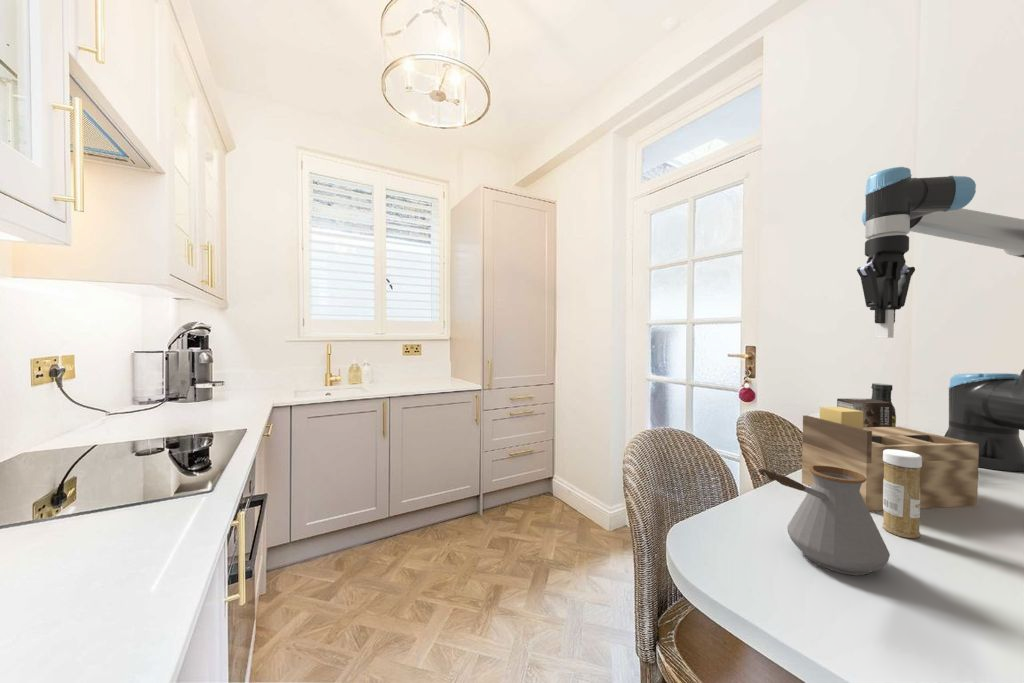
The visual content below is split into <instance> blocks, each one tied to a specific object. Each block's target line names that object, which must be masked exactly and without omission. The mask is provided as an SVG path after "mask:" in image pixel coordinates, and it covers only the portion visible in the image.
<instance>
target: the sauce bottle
mask: <svg viewBox="0 0 1024 683" xmlns="http://www.w3.org/2000/svg"><path fill="white" fill-rule="evenodd" d="M871 390H872V391H871V392H872V393H871V398H870V399H877V400H882V401H885V402H889V403H892V391H893V384H888V383H880V382H879V383H877V382H872V383H871ZM896 414H897V413H896V408H895V406H894V404H893V403H892V427H897V426H896V425H897V424H896V423H897V415H896Z"/></svg>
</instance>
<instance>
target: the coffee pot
mask: <svg viewBox="0 0 1024 683" xmlns="http://www.w3.org/2000/svg"><path fill="white" fill-rule="evenodd" d="M809 471H810V472H811V473H812V474H813V478H814V484H813V485H812V487H811V486H807V485H805V484H803V483H800V482H799V481H797V480H794V479H792V478H791V477H788V476H787V475H782V474H778V473H777V472H775V471H773V470H770V471H769V470H768V469H763V468H760V469H756V470H753V471H752V472H751V473H750V477H751V480H752V481H753V482H754V483H755V484H757V485H764V484H766V483H767V482H768V481H769V480H770V481H776V482H778V483H779V484H781V486H782V485H783V486H785V487H789V488H792V489H795V490H798V491H801V492H804V493H806V495H805V497H804V498H803V500H802V501H801V503H800V505H799V507H798V508H797V510H796V511H795V513H794V515H793V516H792V517H791V519H790V521H789V523H788V525H787V528H786V529H787V534H788V535H789V538H790V540H791V541H792V542H793V544H794V546H796V548H797V549H798V550H800V551H801V552H802V553H803V555H804V556H805V558H807V559H808V560H810V561H811V562H813V563H814V564H816V565H818V566H821V567H823V568H825V569H828V570H830V571H834V572H837V573H840V574H844V575H845V574H846V575H852V576H864V575H868V574H870V573H871V572H875V571H878V570H880V569H882V568H884V567H885V566H886V565H887V563H888V562H889V560H890V556H891V555H890V554H891V553H890V551H889V549H888V547H887V545H886V543H885V541H884V539H883V536H882V535H881V533H880V531H879V529H878V527H877V524H876V522H875V521H874V519H873V516H872V514H871V511H869V510H868V508H867V506H866V504H865V502H864V500H863V498H862V496H861V493H860V488H861V485H862V483H864V482H865V481H866V478H865V476H863V475H862V474H860V473H857V472H854V471H851V470H848V469H844V468H839V467H833V466H823V465H811V466H810V467H809ZM755 472H758V473H760V475H762V476H764V477H765V480H764V482H761V483H759V482H757V481H755V479H754V477H753V475H754V473H755Z"/></svg>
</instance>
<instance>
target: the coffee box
mask: <svg viewBox="0 0 1024 683" xmlns="http://www.w3.org/2000/svg"><path fill="white" fill-rule="evenodd" d="M836 401H837V403H836V407H844V408H849V409H854V410H859V411H863V427H892V404H893V403H889V402H885V401H882V400H877V399H872V398H837V399H836Z"/></svg>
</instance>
